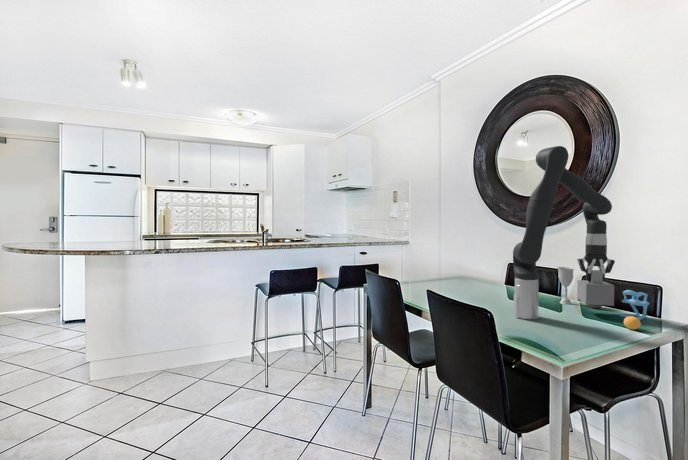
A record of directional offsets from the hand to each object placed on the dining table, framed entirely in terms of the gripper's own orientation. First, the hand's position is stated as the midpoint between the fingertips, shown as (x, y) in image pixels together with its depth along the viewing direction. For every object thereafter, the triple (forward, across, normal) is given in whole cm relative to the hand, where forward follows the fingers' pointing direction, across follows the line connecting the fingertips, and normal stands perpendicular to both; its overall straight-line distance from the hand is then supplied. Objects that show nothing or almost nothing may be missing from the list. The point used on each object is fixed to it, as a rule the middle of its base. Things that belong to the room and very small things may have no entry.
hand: (595, 281), depth 146 cm
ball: (+12, +5, -19) cm, 23 cm away
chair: (+15, +14, -1) cm, 21 cm away
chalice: (+15, -5, +19) cm, 25 cm away
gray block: (+9, 0, 0) cm, 9 cm away
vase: (+15, +4, +13) cm, 20 cm away
